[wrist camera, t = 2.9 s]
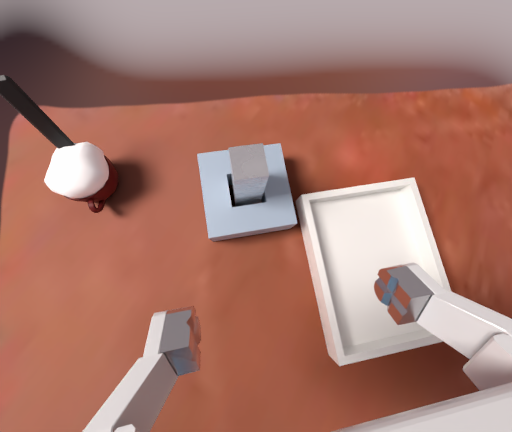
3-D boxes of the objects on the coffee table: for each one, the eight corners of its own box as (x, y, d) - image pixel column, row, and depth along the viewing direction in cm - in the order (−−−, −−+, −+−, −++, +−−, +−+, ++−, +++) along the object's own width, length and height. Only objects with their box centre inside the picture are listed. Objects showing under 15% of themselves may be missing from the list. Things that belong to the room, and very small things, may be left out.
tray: (398, 185, 32) (414, 177, 29) (442, 328, 28) (465, 336, 25) (295, 201, 30) (301, 194, 27) (328, 354, 27) (339, 366, 24)
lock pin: (254, 185, 30) (262, 143, 20) (258, 207, 30) (269, 175, 19) (232, 188, 30) (228, 147, 19) (236, 210, 30) (233, 180, 19)
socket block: (275, 158, 31) (280, 143, 27) (289, 228, 29) (297, 223, 26) (202, 167, 30) (197, 153, 26) (212, 241, 28) (208, 238, 25)
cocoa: (120, 217, 29) (43, 193, 17) (67, 213, 28) (-51, 186, 16) (131, 147, 30) (66, 80, 18) (81, 142, 30) (-19, 71, 18)
